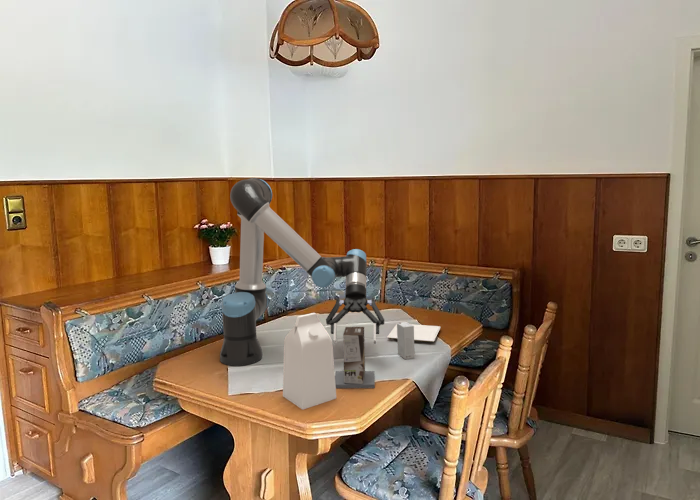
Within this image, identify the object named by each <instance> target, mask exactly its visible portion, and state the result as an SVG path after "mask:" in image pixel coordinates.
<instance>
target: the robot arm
mask: <svg viewBox="0 0 700 500" xmlns="http://www.w3.org/2000/svg"><path fill="white" fill-rule="evenodd" d="M229 195H230V196H229V198H230V199H229V200H230V202H231V204H232V206H233V208H234V209H235V210H236V214H237V216H238V217H239V218H240V244H239V245H240V250H239V251H240V252H239V281H237V283H236V284H235V285H234V286H235V287H234V292H232V293H229V294H227V295H226V296H224V297H223V299H222V301H221V312H222V313H221V315H222V326H223V327H222V328H223V329H222V330H223V331H222V332H223V342H222V344H221V349H220V354H219V361H220V363H221V364H224V365H225V366H231V367H232V366H235V367H237V366H239V367H240V366H247V365H252V364H254V363H257V362H259V361H261V359H262V358H263V350H262V346H261V345H260V342H259V339H258V337H257V320H258V319H259V318H261V316H262V315H264V314H265V312H266V310H267V308H268V305H269V296H268V294H267V285H266V284H265V282H263V273H264V272H263V271H264V270H263V269H264V243H265V242H264V241H265V234H266V235H267V237H269V238H270V239H271V240H272V241H273V242H274V243H276V244H277V246H279V247H280V249H282V251H284V252H285V254H286V255H288V256H289V257H290V258H291V259H292V260H293V261H294V262H295V263H296V264H298V266H300V267H301V268H302V270H304V271H305V272H306V273H307V274H308V275H309V276H310V277H311V280H312V283H313V284H314V285H315V286H317V287H318V288H322V289H323V288H327V287H329V286H330V285H332V284H333V283H334V281H335V279H336V278H342V277H343V278H345V292H344V293H345V294H344V295H345V296H344V299H340V298H339V297H338V298H336V300H335V304H334V305H333V307H332V309H331V310H330V312H329V314H328V315H327V317H326V318H325V321H326V325H330V334H331V335H333V340H332V342H333V345H336V344H337V330H338V325H337V324H338V323H339V322H341V320H342V319H343V318H344V317H345V316H346V315H347V314H349V313H350V312H351V313H361V312H362V313H363V314H364V315H365V316H366V317H367V318H368V319H369V320H370V321H371V322H372V324H373V345H376V344H377V335H379V334H380V326H381V325H382V326H383V325H385V318H384V316H383V314H382V313H381V311H380V309H379V308H378V306H377V304H376V299H375V298H371V299H369V300H368V299H367V268H368V267H367V263H368V262H367V253H366V252H365V251H363V250H361V249H359V248H355V249H354V248H353V249H351V250H349V251H347V253H346V255H344V256H333V257H332V256H330V257H329V256H328V257H325V256H323V257H322V255H320V254H319V253H318V252H317V251H316V249H314V248H313V247H312V246H311V245H310V244H309V243H308V242H307V241H306V240H305V239H303V237H301V236H300V235H299V234H298V233H297V232H296V231H295V230H294V228H293V227H291V226H290V225H289V224H288V223H287V222H286V221H284V219H283V218H282V217H280V216H279V215H278V213H276V211H274V210H273V209H272V208H271V207H270V204H271V203H272V199H273V191H272V188H271V186H270V185H269V184H268V183H267V182H266V181H265V180H264V179H260V178H255V177H254V178H253V177H251V178H248V179H241V180H239V181H238V182H235V184H234V185H233V186H232V187H231V190H230V194H229ZM342 305H344V306H343V308H342V309H341V310H340V312H339V313H338V311H339V309H340V307H342ZM368 305H369V307H371V308H372V311H373V312H374V314H375V315H374V314H373V313H372V312H371V311H370V310H369V308H368V307H367V306H368ZM336 314H337V315H336Z"/></svg>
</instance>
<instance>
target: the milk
mask: <svg viewBox="0 0 700 500" xmlns="http://www.w3.org/2000/svg"><path fill="white" fill-rule="evenodd" d="M333 345H334V343H333V340H332V337H331V336H330V334H329V332H328V331H327V329H326V328H325V326H324V325H323V324H322V322H321V320H320V318H319V316H318V314H317V313H316V312H311V313H306V314H301V315H297V317H296V321H295V323H294V326H293V327H292V328H291V329H290V330H289V332H288V333H287V334H286V335H285V337H284V340H283V367H282V368H283V371H282V373H283V374H282V375H283V377H282V378H283V379H282V397H283V398H285V400H287V401H290V403H292V404H294V405H295V406H297V407H298V408H299V409H301V410H305V409H306V410H307V409H308V408H312V407H315V406H318V405H321V404H323V403H327V402H330V401H333V400H336V399H337V388H336V385H335V372H336V371H335V362H334V361H335V359H334V348H333V347H334V346H333Z"/></svg>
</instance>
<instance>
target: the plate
mask: <svg viewBox="0 0 700 500" xmlns="http://www.w3.org/2000/svg"><path fill="white" fill-rule="evenodd" d="M410 324H411V325H413V326H414V342H417V343H418V342H419V343H434V342H435V341H436V339H437V335H438V333H439V331H440V330H441V326H440V325H439V326H438V325H425V324H413V323H410ZM386 338H387V339H390V340H395V341H398V340H397V323H396V324H395V325H394V327H393V328H392V329H391V331H390V332H389V334H388V335H387V336H386Z"/></svg>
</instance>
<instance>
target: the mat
mask: <svg viewBox="0 0 700 500" xmlns="http://www.w3.org/2000/svg"><path fill="white" fill-rule="evenodd" d="M375 374H376V373H375V371H374V370H365V375H364V381H363V384H351V383H344V370H336V371H335V385H336V389H376V388H375V383H376V381H375Z"/></svg>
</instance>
